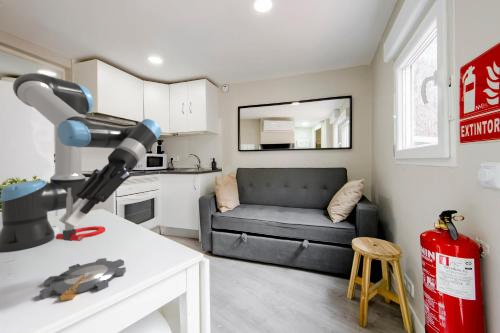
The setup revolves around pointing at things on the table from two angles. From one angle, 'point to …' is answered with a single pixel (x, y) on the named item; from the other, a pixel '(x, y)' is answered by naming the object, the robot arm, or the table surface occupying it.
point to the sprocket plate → (83, 279)
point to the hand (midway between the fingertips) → (67, 223)
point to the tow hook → (69, 231)
